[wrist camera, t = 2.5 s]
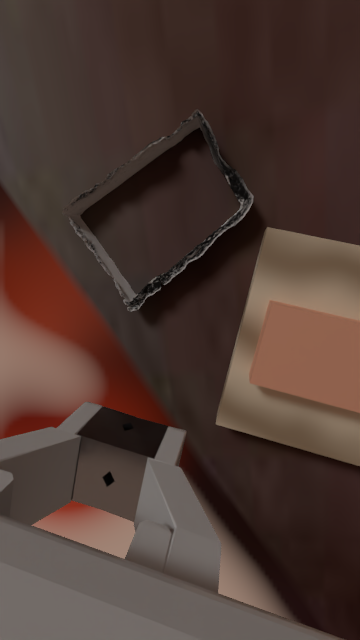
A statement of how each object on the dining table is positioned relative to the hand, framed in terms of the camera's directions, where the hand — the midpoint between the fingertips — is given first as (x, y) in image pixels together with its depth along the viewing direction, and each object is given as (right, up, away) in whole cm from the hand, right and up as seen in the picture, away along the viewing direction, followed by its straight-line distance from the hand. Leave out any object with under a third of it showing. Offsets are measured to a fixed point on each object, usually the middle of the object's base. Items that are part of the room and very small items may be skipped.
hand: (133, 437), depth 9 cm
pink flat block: (+12, +1, +15) cm, 19 cm away
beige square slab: (+13, +1, +17) cm, 22 cm away
